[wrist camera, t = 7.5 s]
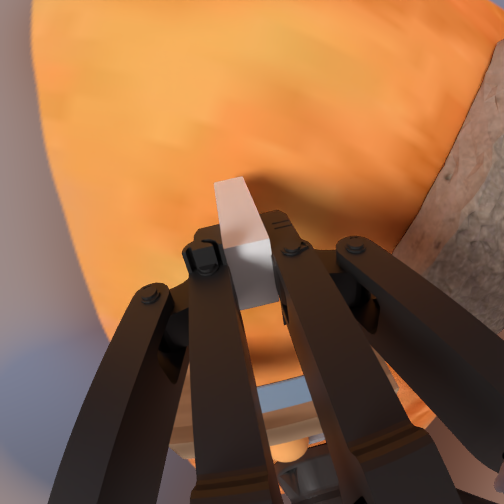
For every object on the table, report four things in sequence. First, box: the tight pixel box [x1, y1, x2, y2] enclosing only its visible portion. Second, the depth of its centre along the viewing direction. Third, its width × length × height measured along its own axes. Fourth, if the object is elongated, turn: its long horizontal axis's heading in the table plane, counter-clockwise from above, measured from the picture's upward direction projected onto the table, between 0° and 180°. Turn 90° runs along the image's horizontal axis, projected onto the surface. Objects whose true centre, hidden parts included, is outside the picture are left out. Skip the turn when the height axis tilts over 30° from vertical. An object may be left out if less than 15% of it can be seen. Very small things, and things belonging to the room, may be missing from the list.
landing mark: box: [257, 375, 312, 413], centre depth 31 cm, size 12×12×1 cm
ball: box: [270, 437, 309, 462], centre depth 32 cm, size 6×6×6 cm
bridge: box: [169, 345, 399, 459], centre depth 20 cm, size 3×14×9 cm, turn 100°
